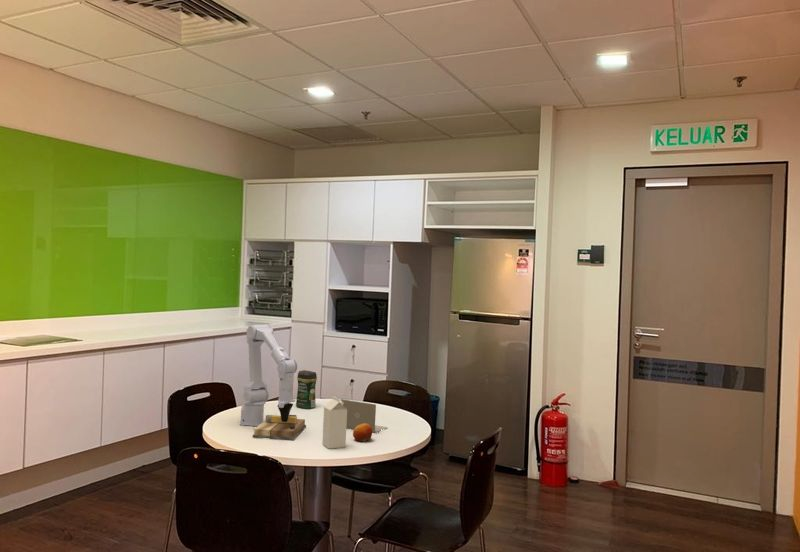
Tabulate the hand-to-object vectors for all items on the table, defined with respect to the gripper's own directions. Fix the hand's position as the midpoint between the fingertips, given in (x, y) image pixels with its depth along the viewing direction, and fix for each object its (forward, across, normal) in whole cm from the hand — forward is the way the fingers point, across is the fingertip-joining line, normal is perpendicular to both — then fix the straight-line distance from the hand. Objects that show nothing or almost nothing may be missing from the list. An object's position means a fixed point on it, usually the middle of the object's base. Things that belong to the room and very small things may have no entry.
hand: (284, 421), depth 246 cm
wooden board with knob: (+6, +4, +2) cm, 7 cm away
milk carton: (+6, -12, -23) cm, 26 cm away
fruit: (+6, -1, -33) cm, 34 cm away
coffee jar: (+6, +54, +3) cm, 54 cm away
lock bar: (+2, +6, +3) cm, 7 cm away
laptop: (+6, +20, -31) cm, 37 cm away
